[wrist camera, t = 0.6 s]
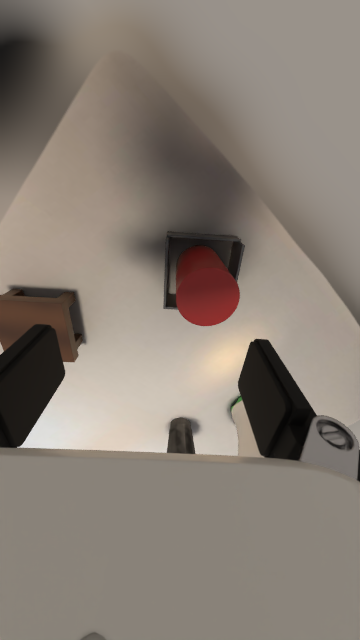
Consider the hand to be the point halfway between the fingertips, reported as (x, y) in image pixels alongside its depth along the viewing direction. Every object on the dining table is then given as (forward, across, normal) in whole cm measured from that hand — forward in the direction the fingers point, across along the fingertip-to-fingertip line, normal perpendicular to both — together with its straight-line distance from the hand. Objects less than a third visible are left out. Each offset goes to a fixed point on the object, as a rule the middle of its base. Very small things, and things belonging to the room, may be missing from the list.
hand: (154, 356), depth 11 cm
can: (+22, -4, +2) cm, 23 cm away
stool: (+22, +18, +12) cm, 31 cm away
